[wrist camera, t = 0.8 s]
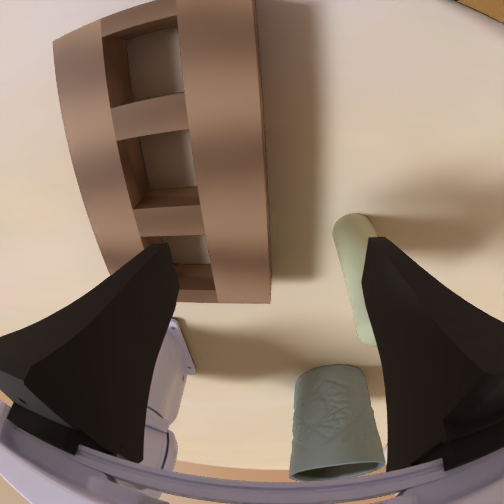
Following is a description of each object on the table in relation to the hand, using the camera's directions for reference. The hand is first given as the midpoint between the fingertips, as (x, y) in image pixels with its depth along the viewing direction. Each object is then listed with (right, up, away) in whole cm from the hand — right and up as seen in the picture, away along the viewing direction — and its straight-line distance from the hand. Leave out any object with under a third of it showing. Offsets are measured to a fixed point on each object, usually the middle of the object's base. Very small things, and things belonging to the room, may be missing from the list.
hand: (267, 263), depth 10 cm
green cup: (+9, -15, +22) cm, 28 cm away
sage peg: (+7, +2, +10) cm, 12 cm away
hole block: (-6, +7, +8) cm, 12 cm away
